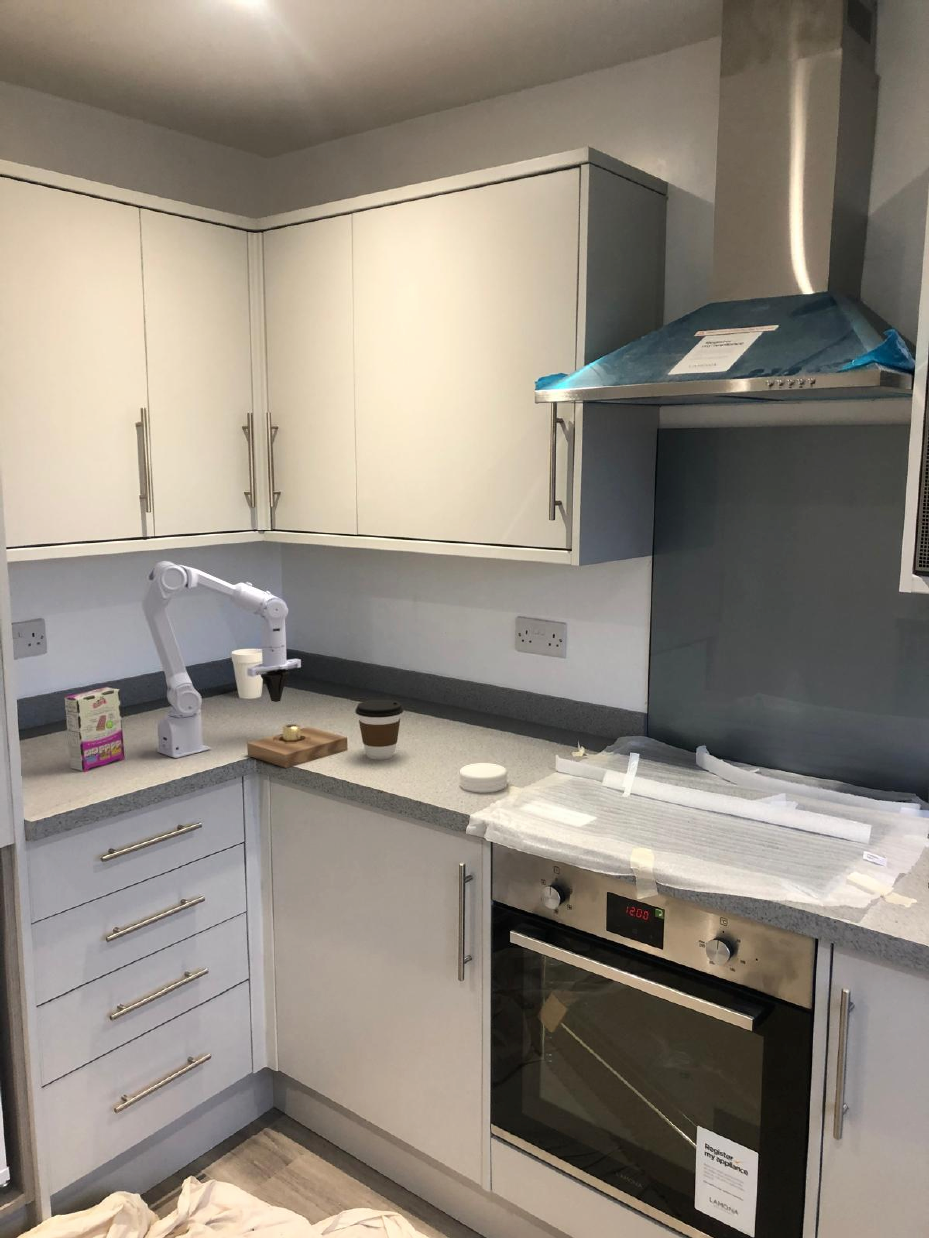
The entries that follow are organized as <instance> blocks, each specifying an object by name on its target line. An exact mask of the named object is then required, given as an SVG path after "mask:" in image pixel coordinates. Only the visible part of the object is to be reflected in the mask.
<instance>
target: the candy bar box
mask: <svg viewBox="0 0 929 1238" xmlns="http://www.w3.org/2000/svg"><path fill="white" fill-rule="evenodd" d="M120 695H121V693H120V688H113V687H110V686H109V687H108V686H105V687H102V688H96V689H92V690H90V691H89V690H88V691H86V692H85V691H84V692H81V693H77V694H73V695H69V696H64V698H63V699H64V706H65V707H64V709H65V710H64V711H65V719H66V720H65V721H66V729H67V730H66V731H67V732H66V733H67V741H68V753H69V755H68V756H69V766H70V769H72V770H74V771H79V772H85V773H86V772H88V771H91V770H95V769H98V768H102V767H104V766H106V765H110V764H113V763H115V762H116V763H117V762H118V761H122V760H124V759H125V746H124V734H123V724H122V722H123V721H122V720H123V719H122V709H121V697H120Z"/></svg>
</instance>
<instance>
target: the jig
mask: <svg viewBox="0 0 929 1238" xmlns="http://www.w3.org/2000/svg"><path fill="white" fill-rule="evenodd" d="M300 736H301V741H298V742H283V733H280V734H275V735H271V736H268V737H265V738H264V737H263V738H260V739H256V740H253V741H249V742H247V743H246V744H247V749H246V750H247V756H248V757H251V758H255V759H256V760H257V759H258V760H261V761H264V762H268V763H270V764H273V765H277V766H279V767H281V768H285V769H287V768H290V767H294V766H297V765H300V764H305V763H307V762H311V761H314V760H317V759H321V758H323V757H328V756H331V755H334V754H338V753H342V752H344V751H348V737H346V736H343V735H339V734H336V733H332V732H329V731H325V730H322V729H318V728H313V727H311V726H306V727H302V728H300Z"/></svg>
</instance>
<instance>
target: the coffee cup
mask: <svg viewBox="0 0 929 1238" xmlns="http://www.w3.org/2000/svg"><path fill="white" fill-rule="evenodd" d="M354 713H355V714H357V715H358V722H359V723H358V724H359V728H360V729H359V730H360V735H361V740H362V744H363V747H364V752H365V755H366V756H367V758H369V759H371V760H387V759H391V758H393V757H394V755H395V752H396V746H397V743H398V739H399V731H400V724H401V714H403V713H404V707H403V705H402V703H401V702H399V701H397V700H394V699H369V700H365V701H361V702H360V703H358V705H357V707H356V708H355V712H354Z"/></svg>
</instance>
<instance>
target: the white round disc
mask: <svg viewBox="0 0 929 1238" xmlns="http://www.w3.org/2000/svg"><path fill="white" fill-rule="evenodd" d="M458 779H459V786H460V788H462V789H463V790H465V791H467V792H472V793H481V794H486V793H495V792H499V791H502V790H504V789H505V788H506V787H507V786H508V770H507V768H505V767H504V766H502V765H500V764H495V763H491V762H489V763H487V762H479V763H477V762H476V763H471V764H467V765H465V766H463V767H461V768H460V770H459V778H458Z"/></svg>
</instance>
